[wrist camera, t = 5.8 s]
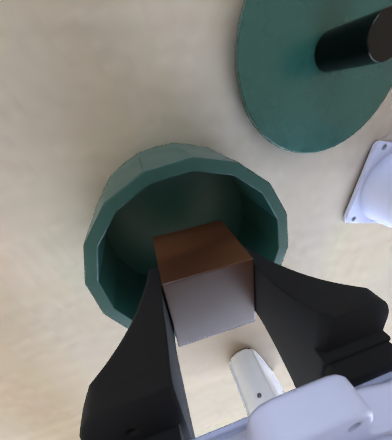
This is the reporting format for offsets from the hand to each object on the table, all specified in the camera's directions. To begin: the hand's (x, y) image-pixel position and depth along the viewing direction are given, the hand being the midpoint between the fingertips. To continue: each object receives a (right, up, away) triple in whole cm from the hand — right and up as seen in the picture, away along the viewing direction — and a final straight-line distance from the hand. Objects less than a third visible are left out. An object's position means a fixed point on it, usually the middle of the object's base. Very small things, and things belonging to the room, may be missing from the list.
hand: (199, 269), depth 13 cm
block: (0, +1, +1) cm, 1 cm away
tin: (-2, +3, +6) cm, 6 cm away
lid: (+9, +14, +3) cm, 17 cm away
